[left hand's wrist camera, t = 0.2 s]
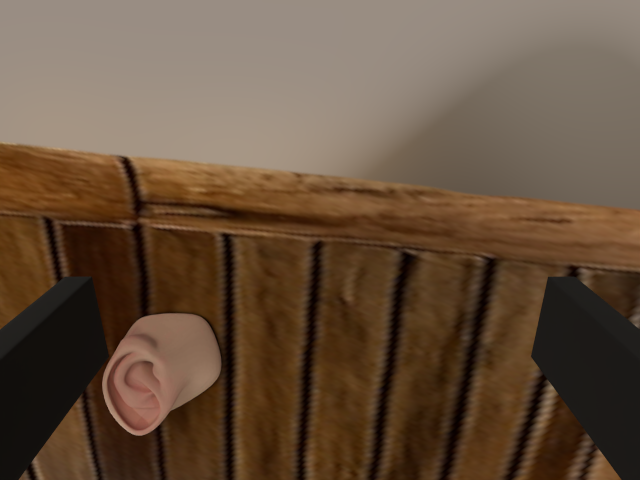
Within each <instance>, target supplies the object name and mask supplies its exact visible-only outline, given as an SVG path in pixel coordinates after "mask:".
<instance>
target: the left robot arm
mask: <svg viewBox="0 0 640 480" xmlns="http://www.w3.org/2000/svg"><path fill="white" fill-rule="evenodd" d="M108 357H109V355H108V350H107V345H106V341H105V336H104V331H103V327H102V322H101V317H100V313H99V308H98V303H97V299H96V294H95V289H94V285H93V280H92V277H64V278H63V279H62V280H61V281H59V282H58V283H57V284H56V285H55V286H53V287H52V288H51V289H50V290H48V291H47V292H46V293H45V294H43V295H42V296H41V297H40V298H39V299H37V300H36V301H35V302H34V303H32V304H31V305H30V306H29V307H27V308H26V309H25V310H24V311H23V312H21V313H20V314H19V315H18V316H16V317H15V318H14V319H13V320H11V321H10V322H9V323H8V324H7V325H5V326H4V327H3V328H2V329H0V480H19V478H20V477H21V475H22V474H23V473H24V471H25V470H26V469H27V467H28V466H29V465H30V463H31V462H32V460H33V459H34V458H35V456H36V455H37V454H38V452H39V451H40V450H41V448H42V447H43V446H44V444H45V443H46V441H47V440H48V439H49V437H50V436H51V435H52V433H53V432H54V431H55V429H56V428H57V426H58V425H59V424H60V422H61V421H62V420H63V418H64V417H65V416H66V414H67V413H68V412H69V410H70V409H71V407H72V406H73V405H74V403H75V402H76V401H77V399H78V398H79V397H80V395H81V394H82V393H83V391H84V390H85V388H86V387H87V386H88V384H89V383H90V382H91V380H92V379H93V378H94V376H95V375H96V373H97V372H98V371H99V369H100V368H101V367H102V365H103V364H104V363H105V361H106V360H107V359H108ZM531 357H532V359H533V360H534V361H535V363H536V364H537V365H538V367H539V368H540V369H541V371H542V372H543V373H544V375H545V376H546V378H547V379H548V380H549V382H550V383H551V384H552V386H553V387H554V388H555V390H556V391H557V393H558V394H559V395H560V397H561V398H562V399H563V401H564V402H565V403H566V405H567V406H568V407H569V409H570V410H571V412H572V413H573V414H574V416H575V417H576V418H577V420H578V421H579V422H580V424H581V425H582V426H583V428H584V429H585V431H586V432H587V433H588V435H589V436H590V437H591V439H592V440H593V441H594V443H595V444H596V446H597V447H598V448H599V450H600V451H601V452H602V454H603V455H604V456H605V458H606V459H607V460H608V462H609V463H610V465H611V466H612V467H613V469H614V470H615V471H616V473H617V474H618V475H619V477H620V478H621V480H640V329H638V328H637V327H636V326H635V325H633V324H632V323H631V322H630V321H629V320H627V319H626V318H625V317H624V316H622V315H621V314H620V313H619V312H617V311H616V310H615V309H614V308H613V307H611V306H610V305H609V304H608V303H606V302H605V301H604V300H603V299H601V298H600V297H599V296H598V295H597V294H595V293H594V292H593V291H592V290H590V289H589V288H588V287H587V286H585V285H584V284H583V283H582V282H581V281H579V280H578V279H577V278H576V277H548V280H547V285H546V289H545V294H544V299H543V303H542V308H541V313H540V317H539V322H538V327H537V331H536V336H535V341H534V345H533V350H532V355H531Z"/></svg>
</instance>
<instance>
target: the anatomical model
mask: <svg viewBox="0 0 640 480" xmlns="http://www.w3.org/2000/svg"><path fill="white" fill-rule="evenodd" d="M220 371H221V355H220V350H219V347H218V343H217V340H216V338H215V335H214V333H213V331H212V329H211V327H210V325H209V324H208V323H207V321H206V320H204V319H203V318H202V317H200V316H197V315H193V314H181V313H166V314H157V315H150V316H145V317H143V318H140V319H139V320H137V321H136V322H135V323H134V324H133V326H132V327H131V328H130V330H129V331H128V333H127V334H126V336H125V338H124V339H123V340H122V341H121V342H120V344H119V346H118V347H117V349H116V351H115V353H114V355H113V356H112V358H111V360H110V361H109V363H108V365H107V367H106V369H105V372H104V376H103V383H102V386H103V394H104V398H105V401H106V404H107V406H108V408H109V410H110V412H111V414H112V415H113V417H114V418H115V419H116V420H117V422H118V423H119V424H120V425H121V426H122V427H123V428H124V429H126V430H127V431H128V432H130V433H132V434H134V435H145V434H147V433H149V432H151V431H152V430H154V429H155V428H156V427H157V426H158V425H159V424H160V423H161V422H162V421H163V420H164V419H165V417H166V416H167V415H168V413H169V412H170V411H171V410H173V409H175V408H177V407H179V406H181V405H183V404H185V403H186V402H188V401H190V400H191V399H193V398H194V397H196V396H198V395H199V394H201V393H202V392H203V391H205V390H206V389H207V388H209V387H210V386H211V385H212V384H213V383H214V382H215V381H216V380H217V378H218V376H219V374H220Z"/></svg>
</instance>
